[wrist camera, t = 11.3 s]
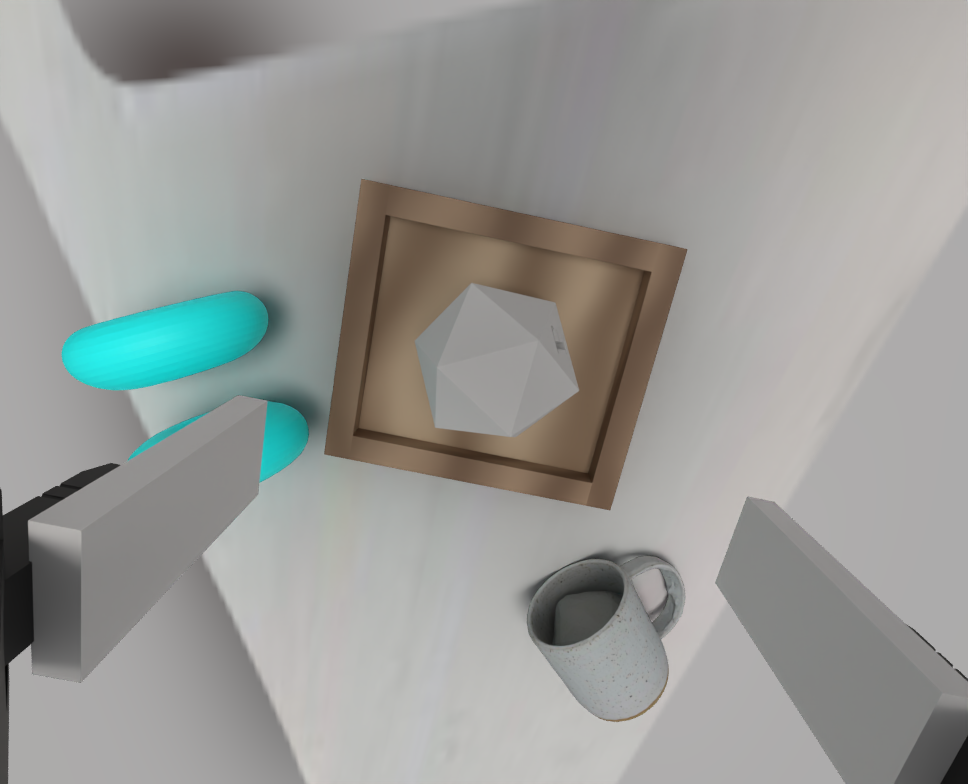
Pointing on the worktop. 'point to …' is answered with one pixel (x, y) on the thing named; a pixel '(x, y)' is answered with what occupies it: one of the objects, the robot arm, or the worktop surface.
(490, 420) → the die
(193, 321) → the donuts
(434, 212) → the tray
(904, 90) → the worktop surface
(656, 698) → the ceramic mug
